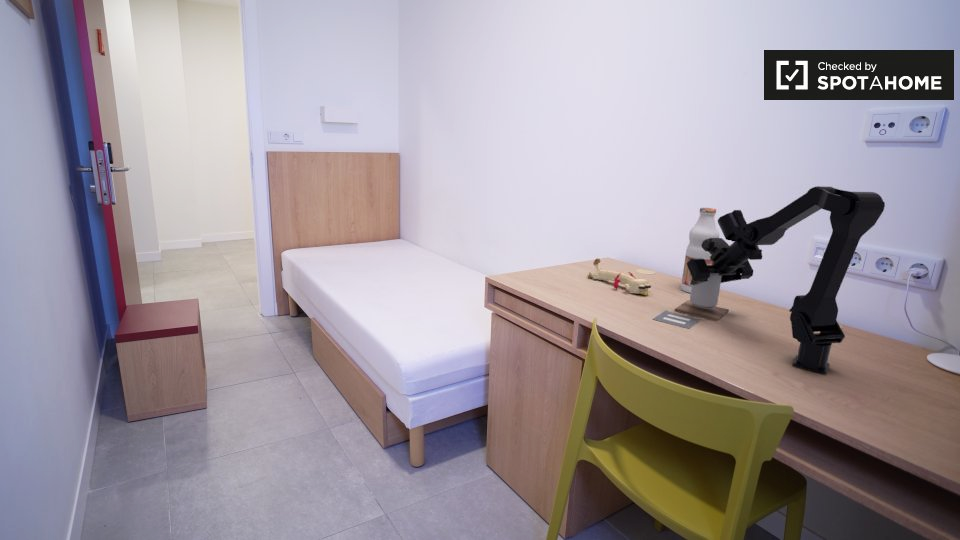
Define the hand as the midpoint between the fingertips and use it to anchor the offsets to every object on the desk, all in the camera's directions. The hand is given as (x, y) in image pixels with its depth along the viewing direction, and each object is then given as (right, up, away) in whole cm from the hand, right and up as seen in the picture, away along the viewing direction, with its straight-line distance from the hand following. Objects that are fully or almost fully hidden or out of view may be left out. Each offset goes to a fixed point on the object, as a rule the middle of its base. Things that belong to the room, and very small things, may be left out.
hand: (703, 283), depth 145 cm
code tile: (-11, -10, -7) cm, 16 cm away
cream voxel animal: (-18, -2, +23) cm, 30 cm away
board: (0, -8, +1) cm, 8 cm away
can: (0, -7, 0) cm, 7 cm away
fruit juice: (+7, -3, +22) cm, 23 cm away
